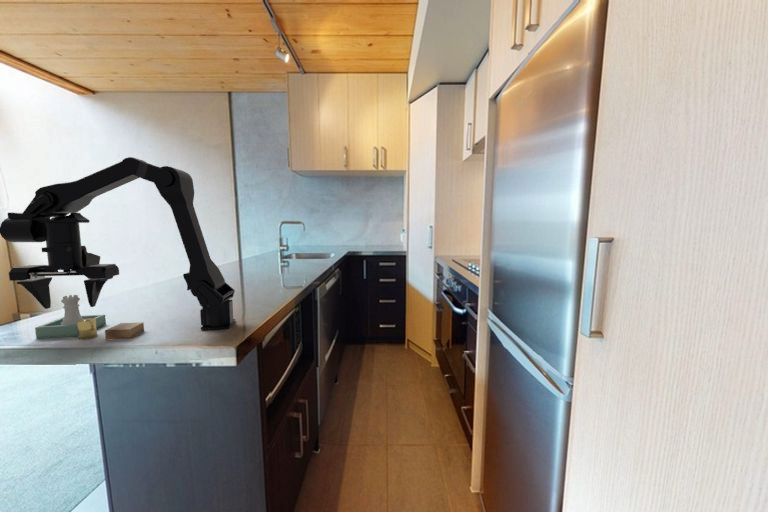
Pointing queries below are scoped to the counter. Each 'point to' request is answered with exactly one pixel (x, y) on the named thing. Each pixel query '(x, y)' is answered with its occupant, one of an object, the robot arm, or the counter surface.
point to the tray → (65, 327)
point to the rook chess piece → (71, 310)
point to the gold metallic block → (87, 328)
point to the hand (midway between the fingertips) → (70, 307)
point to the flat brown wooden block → (124, 330)
